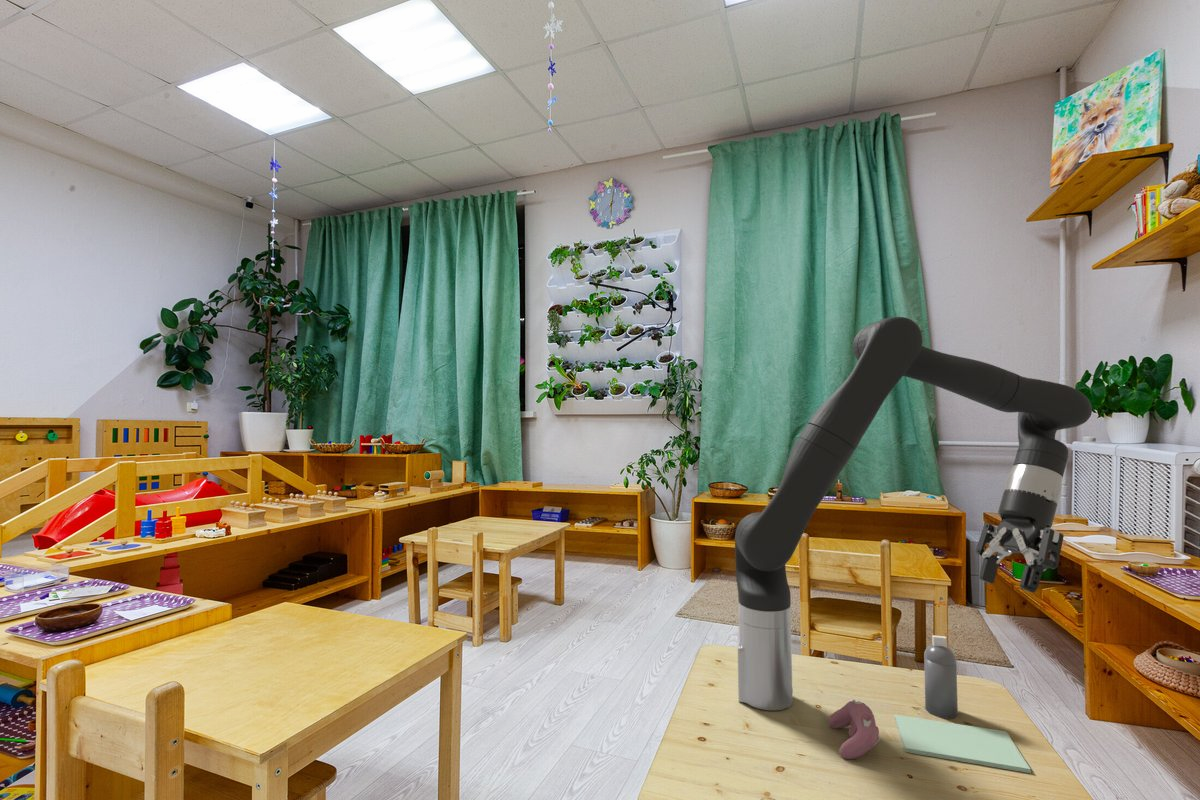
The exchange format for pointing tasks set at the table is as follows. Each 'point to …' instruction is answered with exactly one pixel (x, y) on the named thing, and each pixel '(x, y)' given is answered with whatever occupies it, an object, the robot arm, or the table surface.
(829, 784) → the table surface
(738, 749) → the table surface
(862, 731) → the mauve curved piece
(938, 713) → the grey bottle
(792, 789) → the table surface
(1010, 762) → the mat
